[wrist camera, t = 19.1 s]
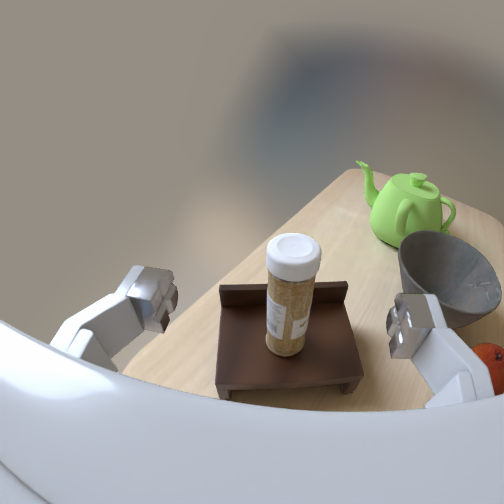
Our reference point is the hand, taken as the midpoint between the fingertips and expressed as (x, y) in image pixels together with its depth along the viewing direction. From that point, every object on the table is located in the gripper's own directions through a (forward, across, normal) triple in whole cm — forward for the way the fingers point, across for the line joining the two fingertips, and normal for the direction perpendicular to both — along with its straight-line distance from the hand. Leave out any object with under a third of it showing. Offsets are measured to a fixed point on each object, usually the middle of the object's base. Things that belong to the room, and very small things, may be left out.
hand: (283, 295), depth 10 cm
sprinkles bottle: (+12, 0, +20) cm, 23 cm away
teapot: (+46, -24, +25) cm, 58 cm away
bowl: (+22, -25, +25) cm, 42 cm away
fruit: (+8, -29, +25) cm, 39 cm away
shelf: (+12, -1, +25) cm, 28 cm away
